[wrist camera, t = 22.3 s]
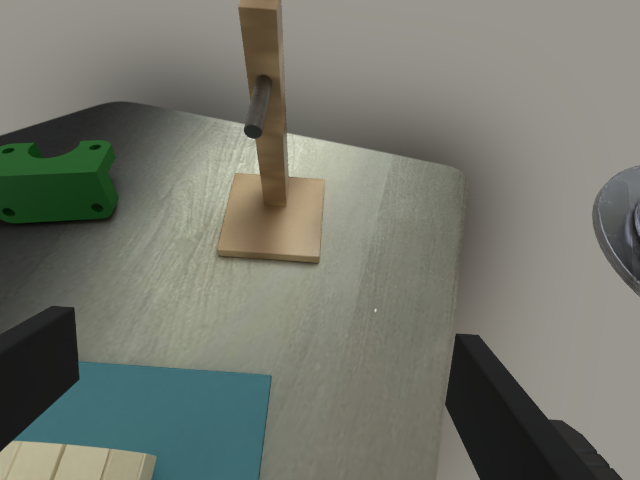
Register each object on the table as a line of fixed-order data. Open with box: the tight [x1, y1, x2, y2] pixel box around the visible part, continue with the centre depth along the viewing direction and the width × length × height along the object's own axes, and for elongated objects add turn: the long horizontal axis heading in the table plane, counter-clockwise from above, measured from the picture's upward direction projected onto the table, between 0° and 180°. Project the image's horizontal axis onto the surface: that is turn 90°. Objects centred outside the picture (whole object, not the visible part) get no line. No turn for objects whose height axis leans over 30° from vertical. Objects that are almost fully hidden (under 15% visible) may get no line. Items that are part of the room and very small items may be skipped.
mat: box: [13, 361, 271, 480], centre depth 28 cm, size 22×16×1 cm
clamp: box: [0, 140, 118, 223], centre depth 40 cm, size 12×6×9 cm, turn 90°
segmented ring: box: [0, 441, 157, 480], centre depth 24 cm, size 9×3×9 cm, turn 87°
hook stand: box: [217, 0, 325, 263], centre depth 33 cm, size 10×10×21 cm
